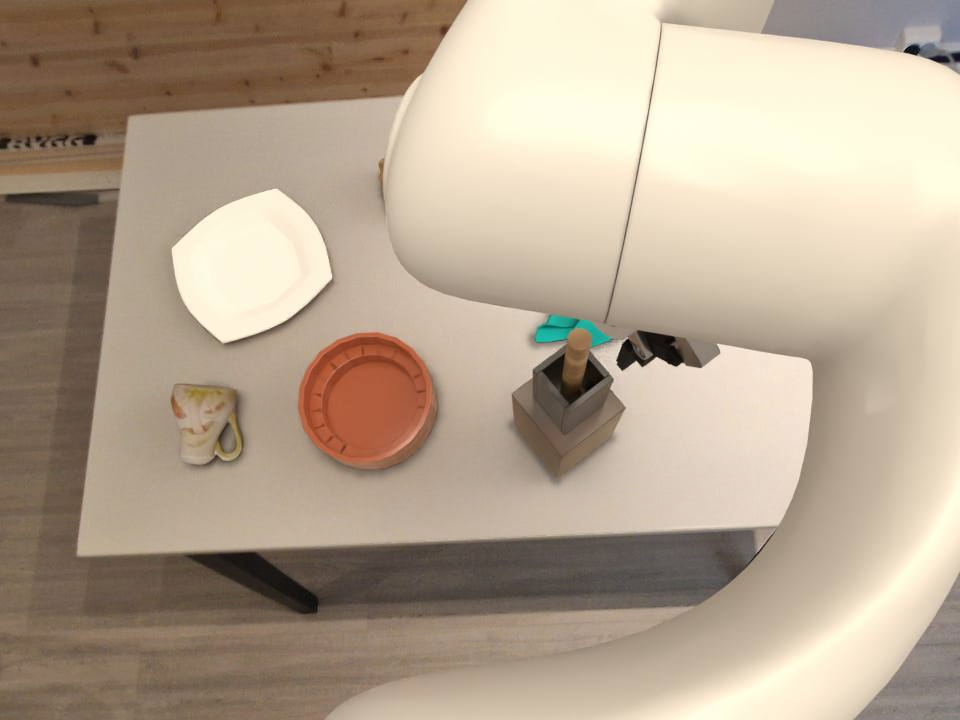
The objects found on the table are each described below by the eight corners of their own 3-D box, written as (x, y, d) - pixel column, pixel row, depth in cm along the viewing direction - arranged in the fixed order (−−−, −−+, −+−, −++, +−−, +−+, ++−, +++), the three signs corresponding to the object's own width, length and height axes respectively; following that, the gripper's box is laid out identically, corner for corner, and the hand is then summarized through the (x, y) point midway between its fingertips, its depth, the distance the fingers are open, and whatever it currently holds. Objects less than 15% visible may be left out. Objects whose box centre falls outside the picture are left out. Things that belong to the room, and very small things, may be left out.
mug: (174, 472, 85) (131, 415, 78) (219, 412, 91) (183, 356, 84) (224, 481, 82) (184, 423, 75) (267, 419, 88) (234, 361, 82)
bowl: (462, 418, 84) (457, 407, 79) (357, 496, 82) (345, 490, 77) (390, 324, 88) (381, 307, 83) (289, 396, 86) (273, 384, 81)
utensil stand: (611, 436, 82) (639, 381, 60) (557, 478, 81) (566, 438, 59) (567, 384, 84) (579, 313, 62) (514, 424, 83) (507, 366, 61)
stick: (583, 400, 69) (600, 338, 52) (564, 415, 69) (574, 357, 52) (571, 386, 70) (584, 320, 53) (552, 400, 69) (559, 339, 52)
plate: (160, 252, 94) (152, 245, 92) (286, 179, 96) (281, 171, 94) (222, 366, 88) (215, 362, 86) (355, 286, 90) (351, 280, 88)
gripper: (422, 51, 31) (461, 235, 47) (692, 346, 26) (631, 437, 42) (557, -37, 32) (549, 173, 48) (842, 231, 27) (726, 363, 43)
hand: (587, 296), depth 45 cm, fingers open, 9 cm apart
